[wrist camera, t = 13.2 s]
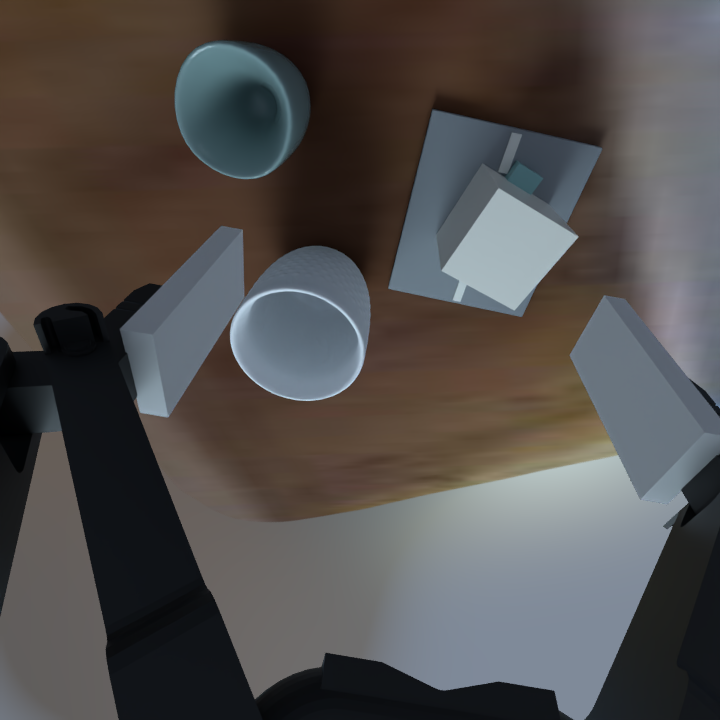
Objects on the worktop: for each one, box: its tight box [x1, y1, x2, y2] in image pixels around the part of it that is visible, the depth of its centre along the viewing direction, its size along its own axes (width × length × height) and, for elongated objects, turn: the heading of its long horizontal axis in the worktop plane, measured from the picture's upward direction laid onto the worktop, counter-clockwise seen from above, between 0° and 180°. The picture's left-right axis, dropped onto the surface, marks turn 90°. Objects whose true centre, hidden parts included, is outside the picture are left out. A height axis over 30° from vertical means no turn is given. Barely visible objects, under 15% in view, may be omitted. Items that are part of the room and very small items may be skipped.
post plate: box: [388, 109, 603, 317], centre depth 37 cm, size 16×14×7 cm
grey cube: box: [436, 160, 578, 311], centre depth 35 cm, size 7×10×8 cm
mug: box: [230, 246, 371, 401], centre depth 40 cm, size 15×11×13 cm
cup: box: [175, 40, 311, 179], centre depth 31 cm, size 8×8×10 cm
